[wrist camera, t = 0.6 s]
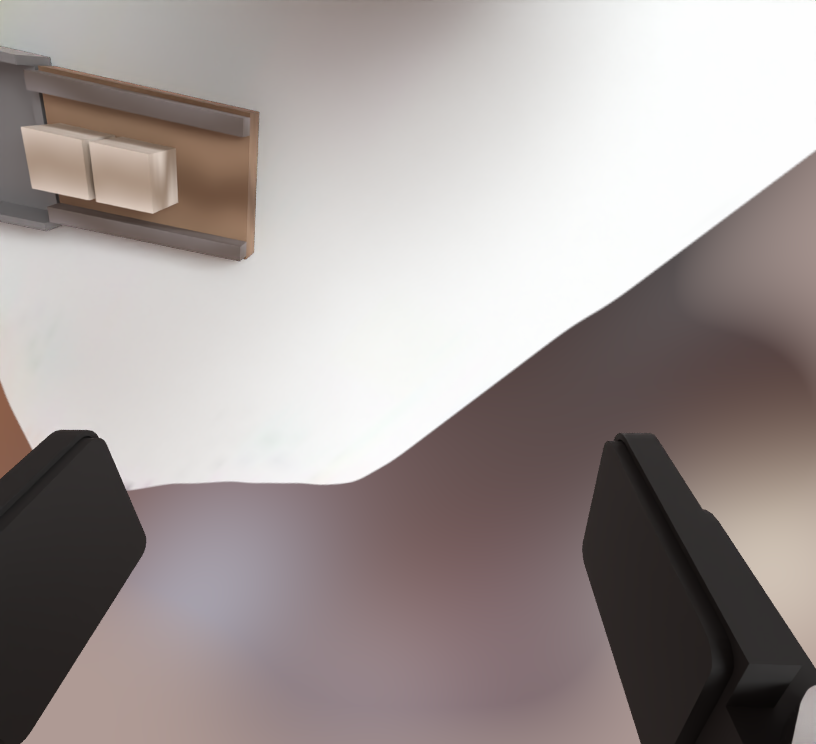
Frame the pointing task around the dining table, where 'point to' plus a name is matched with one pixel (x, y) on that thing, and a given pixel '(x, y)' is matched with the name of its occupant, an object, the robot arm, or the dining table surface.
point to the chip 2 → (134, 174)
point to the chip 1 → (61, 158)
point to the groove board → (195, 157)
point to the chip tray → (20, 142)
